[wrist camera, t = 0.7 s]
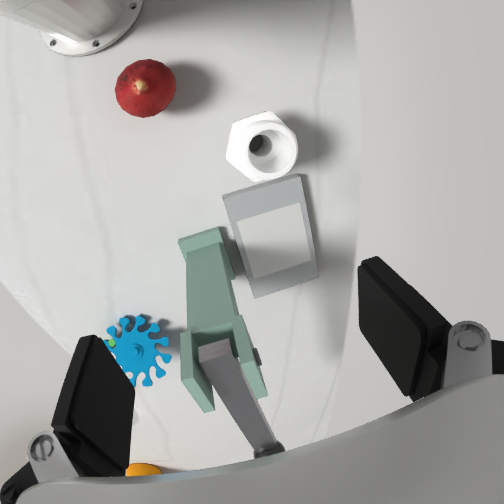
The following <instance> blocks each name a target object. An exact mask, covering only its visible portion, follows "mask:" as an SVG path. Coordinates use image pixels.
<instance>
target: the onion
mask: <svg viewBox="0 0 504 504" xmlns="http://www.w3.org/2000/svg"><path fill="white" fill-rule="evenodd" d="M175 91H176V83H175V77H174V75H173V73H172V72H171V70H170V68H168V67H167V66H166V65H164V64H163V63H161V62H158V61H155V60H151V59H147V60H139V61H136V62H135V63H133V64H131V65H129V66H127V67H126V68H125V69H124V71H123V72H122V73H121V74H120V76H119V77H118V79H117V83H116V87H115V93H116V98H117V101H118V103H119V105H120V106H121V108H122V109H123V110H124V111H126V112H127V113H129V114H131V115H133V116H137V117H142V118H145V117H150V116H155V115H156V114H158V113H160V112H161V111H163V110H164V109H165V108H166V107H167V106H168V104H169V103H170V102H171V101H172V99H173V96H174V93H175Z"/></svg>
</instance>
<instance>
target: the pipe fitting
mask: <svg viewBox="0 0 504 504" xmlns="http://www.w3.org/2000/svg"><path fill="white" fill-rule="evenodd" d="M256 135H261V136H262V138H263V145H262V147H261V148H260V149H259V150H257V151H254V152H251V151H250V149H249V143H250V141H251V140H252V138H253V137H254V136H256ZM296 137H297V136H296V134H295V133H294V132H293V131H292V130H291V129H290V128H289V127H288V126H287V125H285V124H284V123H283V122H282V121H281V120H280V119H279V118H278V117H277V116H276V115H275V114H273V113H272V112H270V111H264V112H261V113H258V114H255V115H252V116H249V117H246V118H243V119H240V120H237V121H234V122H233V123H232V126H231V131H230V136H229V141H228V146H227V151H226V159H227V160H228V162H230V163H231V164H232V165H233V166H235V167H236V168H237V169H238V170H240V171H241V172H242V173H243V174H244V175H246V176H247V177H248V178H249V179H251V180H252V181H253V182H258V181H261V180H264V179H268V180H270V179H276V178H279V177H281V176H283V175H285V174H286V173H287V172H289V171H290V170H291V168H292V167H293V166H294V164H295V162H296V160H297V156H298V144H297V140H296Z"/></svg>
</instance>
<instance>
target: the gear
mask: <svg viewBox="0 0 504 504" xmlns="http://www.w3.org/2000/svg"><path fill="white" fill-rule="evenodd" d="M145 322H146V320H145V319H144V318H142V317H140V316H137V317H136V324H135V327H134V328H133V330H132V331H131V332H127V331H126V327H127V326H128V325H129V323H130V320H129V319H128V318H120V324H121V326H122V336H121V337H120V338H117V336H116V332H117V329H116V328H115V327H114V326H111V327H109V328H108V329H107V333H108V334H110V335H111V336H112V337H113V339H114V340H113V339H110V340H103V341H104V343H105V345H106V346H107V348H108V349H109V351H110V352H113V353H114V354H115V355H116V361H117V363H118V364H119V365H121V366H122V368H123V369H122V370H123V372H124V373H126V372H129V371H130V372H132V373H133V378H132V379H129V380H130V382H131V383H132V384H133V386H134V387H135V386H136V378H137V376H138V375H139V373H140V372H144V373H145V375H146V377H145V379H144V380H143V382H142V384H143V386H152V384H153V382H152V380H151V378H150V376H149V369H150V367H151V366H154V367H155V368H156V376H157V377H158V378H161V377H163V376H164V375H165V374H166V372H165V371H164V370H163V369H161V368H160V367H159V366H158V365H157V363H156V360H155V357H156V356H157V355H160V356H161V357H162V360H163V361H164V362H165V363H169V362H170V360H171V358H172V356H171V355H170V354H163V353H160V352H159V351H158V350H156V349H155V344H156V343H160V344H161V345H163V346H165V347H167V346H169V339H168V337H163V338H161V339H158V340H153V339H150V338H149V336H148V335H149V333H150V332H155V333H158V332H159V331H160V328H159V326H158V325H157V324H156V323H153V324H152V325H151V327H150V328H149V329H148V330H147V331H145V332H142V333H140V332H139V331H138V327H139V326H141V325H144V324H145Z"/></svg>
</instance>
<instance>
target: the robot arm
mask: <svg viewBox="0 0 504 504" xmlns="http://www.w3.org/2000/svg"><path fill="white" fill-rule="evenodd" d="M142 4H143V0H0V15H1V16H4V17H6V18H9V19H12V20H14V21H17V22H20V23H22V24H25V25H27V26H30V27H32V28H35V29H37V30H38V31H39V34H40V37H41V39H42V41H43V43H44V44H45V45H46V46H47V47H48V48H49V49H50V50H52V51H54V52H56V53H58V54H61V55H64V56H71V57H77V56H85V55H89V54H93V53H96V52H98V51H100V50H103V49H104V48H106V47H108V46H110V45H111V44H113V43H114V42H115V41H117V40H118V39H119V38H121V37H122V36H123V35H124V34H125V33H126V32H127V31H128V30H129V29H130V27H131V26H132V24H133V23H134V22H135V20H136V19H137V17H138V15H139V13H140V11H141V7H142ZM133 7H136V8H135V9H132V8H133ZM55 43H56V45H55ZM98 43H100V44H99V46H98V47H97V46H96V45H97V44H98ZM358 297H359V327H360V330H361V332H362V334H363V335H364V337H365V338H366V340H367V341H368V343H369V344H370V345H371V347H372V348H373V350H374V351H375V353H376V354H377V356H378V357H379V359H380V360H381V361H382V363H383V365H384V366H385V368H386V369H387V370H388V372H389V374H390V375H391V377H392V378H393V380H394V381H395V382H396V384H397V386H398V387H399V389H400V390H401V392H402V393H403V395H404V396H406V397H407V396H410V398H411V399H412V401H413V402H414V403H412V404H409V405H407V406H405V407H403V408H401V409H399V410H397V411H394V412H392V413H390V414H388V415H385V416H383V417H381V418H378V419H376V420H373V421H371V422H369V423H366V424H364V425H362V426H359V427H356V428H354V429H351V430H349V431H346V432H343V433H341V434H338V435H335V436H332V437H330V438H327V439H324V440H321V441H318V442H315V443H311V444H308V445H305V446H302V447H298V448H295V449H292V450H288V451H285V452H281V453H277V454H273V455H270V456H266V457H261V458H257V459H253V460H248V461H244V462H239V463H234V464H229V465H224V466H218V467H212V468H206V469H200V470H193V471H185V472H177V473H168V474H157V475H143V476H125V473H126V469H127V468H128V467H129V458H130V443H131V431H132V419H133V409H134V400H135V389H134V386H133V384H132V383H131V382H130V380H129V379H128V377H127V376H126V374H125V373H124V372H123V370H122V369H121V367H120V366H119V364H118V363H117V361H116V360H115V358H114V357H113V355H112V354H111V352H110V351H109V349H108V348H107V346H106V345H105V343H104V341H103V340H102V339H101V338H98V337H97V336H96V335H89V336H85V337H81V338H80V339H79V341H78V344H77V346H76V349H75V352H74V354H73V357H72V360H71V363H70V366H69V369H68V372H67V374H66V378H65V380H64V383H63V386H62V390H61V393H60V396H59V399H58V403H57V406H56V409H55V413H54V416H53V420H52V423H51V426H52V427H53V428H54V431H53V433H52V432H50V431H43V432H40V433H38V434H36V435H35V436H34V437H33V438H32V440H31V441H30V443H29V445H28V449H27V455H28V459H29V462H28V463H27V464H26V465H25V466H24V467H22V468H21V469H20V470H19V471H18V472H17V473H15V474H14V475H13V476H12V477H11V478H10V479H9V480H8V481H6V482H5V483H4V485H3V486H2V489H1V492H0V501H1V504H504V341H498V340H491V338H490V334H489V332H488V331H487V329H486V328H485V327H484V326H483V325H481V324H479V323H477V322H473V321H462V322H459V323H457V324H455V325H453V326H452V325H451V324H450V323H449V322H448V321H447V320H446V319H445V318H444V317H443V316H442V315H441V314H440V313H439V312H438V311H437V310H436V309H435V308H434V307H433V306H432V305H431V304H430V303H429V302H428V301H427V300H426V299H425V298H424V297H423V296H422V295H420V294H419V293H418V292H417V291H416V290H415V289H414V288H413V287H412V286H411V285H409V284H408V283H407V282H406V281H405V280H404V279H402V278H401V277H400V276H399V275H398V274H397V273H396V272H395V271H394V270H393V269H392V268H391V267H389V266H388V265H387V264H386V263H385V262H384V261H383V260H382V259H380V258H379V257H378V256H375V257H372V258H369V259H366V260H363V261H362V263H361V265H360V266H358ZM423 397H424V398H423ZM421 398H422V399H421ZM419 399H420V400H419ZM417 400H418V401H417ZM415 401H416V402H415ZM111 476H112V477H111Z"/></svg>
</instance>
